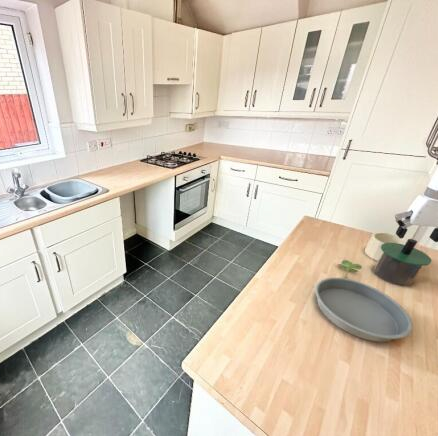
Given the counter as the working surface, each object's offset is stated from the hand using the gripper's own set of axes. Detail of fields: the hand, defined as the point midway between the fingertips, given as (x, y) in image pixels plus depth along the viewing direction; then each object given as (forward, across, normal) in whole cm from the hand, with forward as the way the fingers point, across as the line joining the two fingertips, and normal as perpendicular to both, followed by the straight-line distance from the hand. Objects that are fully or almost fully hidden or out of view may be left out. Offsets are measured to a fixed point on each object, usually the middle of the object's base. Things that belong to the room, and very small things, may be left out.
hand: (415, 238), depth 87 cm
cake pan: (+17, +22, +25) cm, 38 cm away
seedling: (+18, +18, +3) cm, 25 cm away
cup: (+18, +1, 0) cm, 18 cm away
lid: (+7, +1, 0) cm, 7 cm away
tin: (+18, -2, -14) cm, 23 cm away
